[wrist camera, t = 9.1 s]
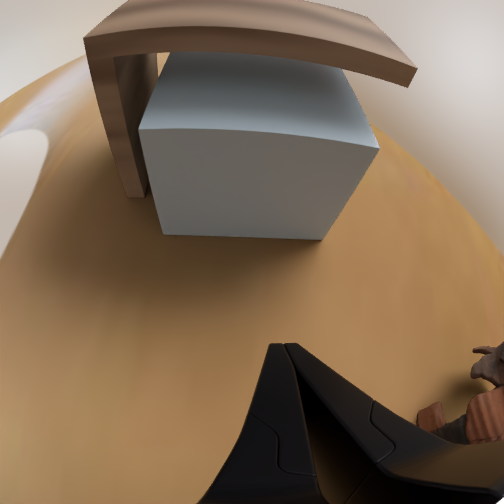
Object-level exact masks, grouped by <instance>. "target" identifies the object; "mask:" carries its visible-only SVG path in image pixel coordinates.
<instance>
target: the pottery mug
mask: <svg viewBox="0 0 504 504" xmlns="http://www.w3.org/2000/svg"><path fill="white" fill-rule="evenodd" d="M472 351H473V353H482V354H485V356H483V357H482V358H481V359H480V360H479V362H476V363H475V364H474V365H473V366H472V369H471V373H470V376H471V378H473V379H476V378H480V377H481V378H482V379H485V380H487V381H489V382H491V383H492V384H493V385H495V386H496V387H495V388H494V389H493V390H491V391H488V392H485V393H481V394H478V395H476V396H475V397H474V398H473V399H472V400H471V401H470V403H469V404H468V407H467V412H466V414H464V415H462V416H461V417H460V418H458V419H457V420H455V421H453V422H452V423H448V424H447V423H446V420H445V418H444V414H443V410H442V404H441V403H440V402H436V403H434V404H432V405H430V406H429V407H427V408H424V409H422V410H420V411H419V412H418V425H419V427H420V428H422V429H424V430H426V431H428V432H430V433H432V434H433V435H435V436H437V437H439V438H441V439H443V440H446V441H448V442H451V443H454V444H459V445H472V444H481V443H488V442H495V441H502V440H504V342H503V343H502V344H501V345H499V346H498V347H496V348H495V347H489V346H487V347H484V346H483V347H477V348H474V349H473V350H472Z"/></svg>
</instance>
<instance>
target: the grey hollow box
mask: <svg viewBox="0 0 504 504" xmlns="http://www.w3.org/2000/svg"><path fill="white" fill-rule="evenodd" d="M138 131H139V136H140V141H141V145H142V150H143V155H144V159H145V164H146V168H147V173H148V177H149V181H150V185H151V190H152V194H153V198H154V202H155V206H156V209H157V213H158V217H159V221H160V225H161V228H162V232H163V235H196V236H229V237H258V238H285V239H310V240H323V239H324V237H325V236H326V234H327V233H328V231H329V229H330V228H331V226H332V225H333V223H334V222H335V220H336V219H337V217H338V216H339V214H340V212H341V211H342V209H343V208H344V206H345V205H346V203H347V201H348V200H349V198H350V197H351V195H352V194H353V192H354V190H355V189H356V187H357V186H358V184H359V182H360V181H361V179H362V177H363V176H364V174H365V173H366V171H367V169H368V168H369V166H370V164H371V163H372V161H373V159H374V158H375V156H376V154H377V153H378V151H379V149H380V147H379V145H378V142H377V140H376V138H375V135H374V133H373V131H372V129H371V127H370V124H369V122H368V120H367V118H366V116H365V114H364V112H363V109H362V107H361V105H360V103H359V101H358V99H357V98H356V95H355V93H354V91H353V89H352V88H351V86H350V84H349V82H348V80H347V78H346V76H345V75H344V73H343V71H342V69H341V68H336V67H332V66H327V65H322V64H317V63H312V62H306V61H300V60H294V59H287V58H280V57H272V56H264V55H254V54H242V53H225V52H170V54H169V56H168V59H167V61H166V63H165V65H164V67H163V69H162V72H161V74H160V76H159V78H158V81H157V83H156V85H155V88H154V90H153V92H152V95H151V97H150V100H149V102H148V105H147V107H146V110H145V112H144V115H143V118H142V120H141V123H140V126H139V129H138Z"/></svg>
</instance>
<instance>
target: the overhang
mask: <svg viewBox="0 0 504 504" xmlns="http://www.w3.org/2000/svg"><path fill="white" fill-rule="evenodd" d="M83 40H84V45H85V50H86V55H87V60H88V65H89V69H90V73H91V78H92V82H93V86H94V90H95V94H96V98H97V102H98V106H99V110H100V113H101V117H102V120H103V124H104V127H105V131H106V134H107V138H108V141H109V144H110V147H111V151H112V154H113V157H114V160H115V163H116V166H117V169H118V172H119V175H120V178H121V181H122V184H123V187H124V190H125V192H126V195H127V197H140V198H145V194H146V189H147V185H148V181H149V177H148V173H147V168H146V164H145V159H144V155H143V150H142V145H141V141H140V136H139V131H138V129H139V126H140V123H141V120H142V118H143V115H144V112H145V110H146V107H147V105H148V102H149V100H150V97H151V95H152V92H153V90H154V88H155V85H156V83H157V81H158V67H157V53H163V52H225V53H242V54H254V55H264V56H272V57H280V58H287V59H294V60H300V61H306V62H312V63H317V64H322V65H327V66H332V67H336V68H341V69H345V70H350V71H353V72H357V73H361V74H365V75H368V76H372V77H375V78H379V79H382V80H385V81H389V82H392V83H395V84H398V85H401V86H404V87H407V88H408V86H409V84H410V83H411V81H412V78H413V77H414V75H415V73H416V71H417V69H418V68H417V67H416V66H415V65H414V64H413V62H412V61H411V60H410V59H409V58H408V57H407V56H406V55H405V54H404V52H403V51H402V50H401V49H400V48H399V47H398V46H397V45H396V44H395V43H394V42H393V41H392V40H391V39H390V38H389V37H388V36H387V35H386V34H385V33H384V32H383V31H382V30H381V29H380V28H379V27H378V26H377V25H376V24H375V23H373V22H372V21H371V20H370V19H369V18H368V17H366V16H363V15H360V14H356V13H353V12H350V11H346V10H343V9H339V8H335V7H331V6H327V5H323V4H318V3H313V2H309V1H304V0H128V1H127V2H125V3H124V4H123V5H121V6H120V7H119V8H118V9H116V10H115V11H114V12H112V13H111V14H110V15H109V16H108V17H107V18H105V19H104V20H103V21H102V22H100V23H99V24H98V25H97V26H96V27H95V28H94V29H93V30H91V31H90V32H89V33H88V34H87V35H86V36H85V37H84V38H83Z"/></svg>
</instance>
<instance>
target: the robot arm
mask: <svg viewBox="0 0 504 504" xmlns="http://www.w3.org/2000/svg"><path fill="white" fill-rule="evenodd" d="M197 504H504V440H502V441H495V442H488V443H481V444H472V445H459V444H454V443H451V442H448V441H446V440H443V439H441V438H439V437H437V436H435V435H433V434H432V433H430V432H428V431H426V430H424V429H422V428H420V427H418V426H416V425H414V424H412V423H411V422H409V421H407V420H405V419H403V418H402V417H400V416H398V415H397V414H395V413H393V412H392V411H390V410H389V409H387V408H386V407H384V406H383V405H381V404H380V403H379V402H377V401H376V400H374V401H373V398H371V397H370V396H368V395H367V394H366V393H364V392H363V391H361V390H360V389H359V388H357V387H356V386H354V385H353V384H352V383H350V382H349V381H347V380H346V379H345V378H343V377H342V376H341V375H339V374H338V373H336V372H335V371H334V370H332V369H331V368H330V367H328V366H327V365H326V364H324V363H323V362H322V361H320V360H319V359H318V358H316V357H315V356H314V355H312V354H311V353H310V352H308V351H307V350H306V349H304V348H303V347H302V346H300V345H299V344H298V343H285V344H282V343H271V344H269V346H268V350H267V353H266V356H265V360H264V363H263V366H262V369H261V373H260V376H259V379H258V382H257V385H256V389H255V392H254V395H253V398H252V401H251V404H250V407H249V410H248V414H247V416H246V419H245V422H244V425H243V428H242V430H241V433H240V435H239V438H238V439H237V441H236V443H235V445H234V447H233V449H232V451H231V453H230V455H229V456H228V458H227V460H226V461H225V463H224V465H223V466H222V468H221V470H220V471H219V473H218V475H217V476H216V478H215V479H214V481H213V483H212V484H211V486H210V487H209V489H208V490H207V491H206V493H205V494H204V496H203V497H202V498H201V499H200V500H199V501H198V503H197Z"/></svg>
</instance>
